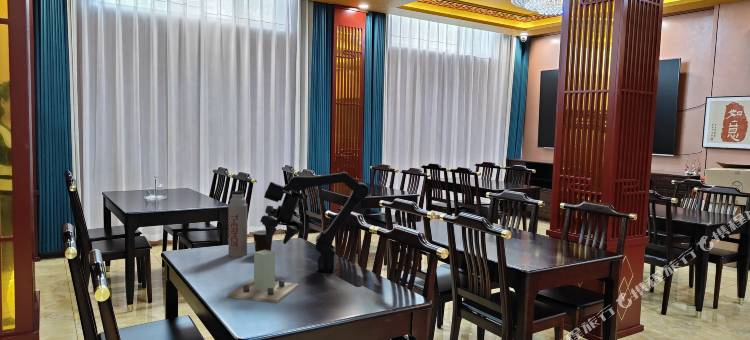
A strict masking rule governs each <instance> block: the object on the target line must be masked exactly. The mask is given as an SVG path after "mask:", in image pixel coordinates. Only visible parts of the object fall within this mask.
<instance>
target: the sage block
mask: <svg viewBox="0 0 750 340" xmlns="http://www.w3.org/2000/svg"><path fill="white" fill-rule="evenodd" d="M253 279H254V289H255V290H258V291H262V292H266V291H268V288H274V289H275V281H276V280H275V279H276V252H275V251H273V250H271V251H269V250H262V251H258V252H255V251H254V252H253Z"/></svg>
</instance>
